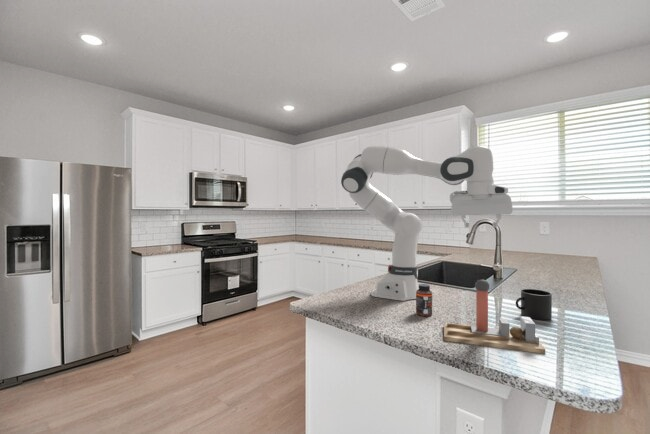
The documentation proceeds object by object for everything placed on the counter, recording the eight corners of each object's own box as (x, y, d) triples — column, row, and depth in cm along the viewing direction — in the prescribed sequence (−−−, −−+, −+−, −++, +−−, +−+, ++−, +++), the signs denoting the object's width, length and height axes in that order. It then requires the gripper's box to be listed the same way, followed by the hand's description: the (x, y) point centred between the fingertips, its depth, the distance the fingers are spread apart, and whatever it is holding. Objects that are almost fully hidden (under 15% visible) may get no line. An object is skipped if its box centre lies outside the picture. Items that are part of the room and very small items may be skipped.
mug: (508, 311, 119) (508, 288, 119) (540, 312, 119) (541, 289, 118) (523, 320, 110) (523, 295, 110) (557, 320, 109) (558, 295, 109)
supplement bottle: (430, 317, 113) (430, 287, 113) (414, 315, 117) (414, 285, 116) (433, 313, 118) (433, 284, 118) (418, 310, 122) (418, 282, 121)
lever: (472, 335, 94) (472, 280, 94) (470, 329, 99) (470, 277, 98) (509, 339, 90) (509, 283, 90) (506, 333, 95) (506, 279, 95)
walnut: (511, 339, 91) (511, 328, 91) (508, 335, 94) (508, 324, 94) (524, 341, 90) (524, 329, 90) (521, 336, 93) (521, 325, 93)
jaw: (525, 342, 88) (525, 323, 88) (520, 335, 94) (520, 316, 94) (539, 344, 87) (539, 324, 87) (533, 336, 93) (533, 317, 93)
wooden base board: (444, 340, 94) (444, 333, 94) (443, 326, 105) (443, 320, 105) (545, 353, 84) (545, 345, 84) (533, 336, 95) (533, 329, 95)
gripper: (449, 191, 114) (450, 228, 114) (513, 188, 107) (513, 227, 107) (449, 191, 120) (450, 227, 120) (509, 189, 112) (510, 226, 113)
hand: (480, 227), depth 113 cm, fingers open, 8 cm apart
